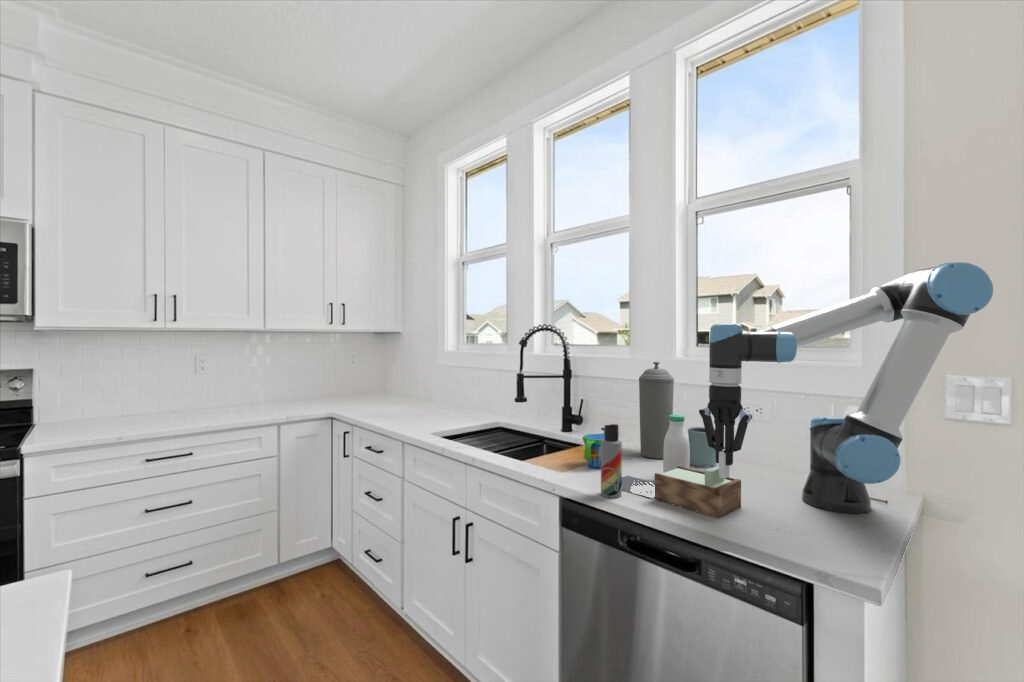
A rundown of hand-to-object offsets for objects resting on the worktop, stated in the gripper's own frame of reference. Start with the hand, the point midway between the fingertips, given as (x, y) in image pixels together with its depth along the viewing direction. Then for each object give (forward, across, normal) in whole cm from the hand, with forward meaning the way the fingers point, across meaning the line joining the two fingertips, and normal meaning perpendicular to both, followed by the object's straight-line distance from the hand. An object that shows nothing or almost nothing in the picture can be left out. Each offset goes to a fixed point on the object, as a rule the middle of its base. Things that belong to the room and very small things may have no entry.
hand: (724, 476), depth 124 cm
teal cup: (+9, -26, +39) cm, 48 cm away
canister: (+9, -43, +36) cm, 57 cm away
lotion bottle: (+9, -26, -12) cm, 30 cm away
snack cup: (+9, -48, +9) cm, 50 cm away
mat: (+9, -26, 0) cm, 27 cm away
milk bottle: (+9, -22, +15) cm, 29 cm away
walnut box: (+9, -7, 0) cm, 11 cm away
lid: (+3, -8, 0) cm, 9 cm away
